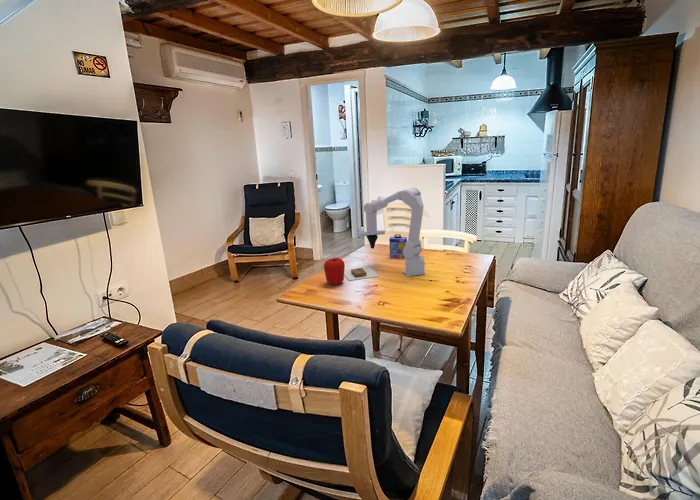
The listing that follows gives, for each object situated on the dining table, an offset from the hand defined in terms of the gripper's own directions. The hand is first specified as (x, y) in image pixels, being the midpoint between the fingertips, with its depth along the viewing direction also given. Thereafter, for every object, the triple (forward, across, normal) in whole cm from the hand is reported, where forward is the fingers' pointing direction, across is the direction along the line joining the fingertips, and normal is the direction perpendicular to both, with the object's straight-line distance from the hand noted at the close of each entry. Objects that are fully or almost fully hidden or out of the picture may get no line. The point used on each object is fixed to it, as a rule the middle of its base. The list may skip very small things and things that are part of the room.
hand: (372, 248), depth 213 cm
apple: (+11, +26, +18) cm, 34 cm away
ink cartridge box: (+11, -19, -9) cm, 24 cm away
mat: (+10, +11, +10) cm, 18 cm away
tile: (+9, +9, +12) cm, 17 cm away
